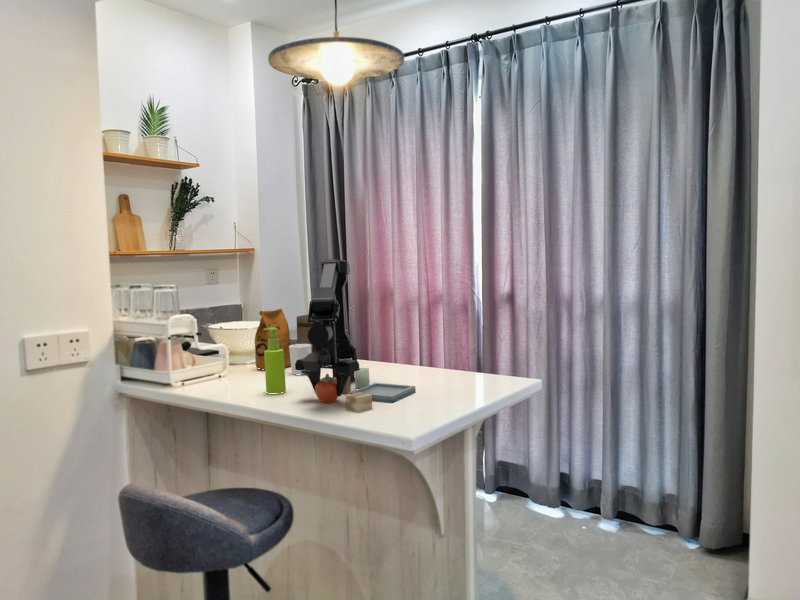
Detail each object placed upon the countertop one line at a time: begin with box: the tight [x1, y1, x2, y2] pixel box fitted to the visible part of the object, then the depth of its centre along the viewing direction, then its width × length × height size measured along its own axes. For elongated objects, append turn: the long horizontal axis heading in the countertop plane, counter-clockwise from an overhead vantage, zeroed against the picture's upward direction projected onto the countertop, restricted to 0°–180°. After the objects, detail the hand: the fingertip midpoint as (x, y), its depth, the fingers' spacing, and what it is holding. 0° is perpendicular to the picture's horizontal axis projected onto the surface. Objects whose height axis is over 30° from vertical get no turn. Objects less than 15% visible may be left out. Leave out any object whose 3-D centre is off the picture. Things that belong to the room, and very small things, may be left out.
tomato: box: [314, 373, 339, 404], centre depth 180 cm, size 7×7×8 cm
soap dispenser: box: [263, 327, 287, 393], centre depth 194 cm, size 6×7×20 cm
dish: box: [349, 382, 417, 404], centre depth 185 cm, size 14×14×2 cm
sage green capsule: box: [354, 367, 371, 390], centre depth 196 cm, size 4×4×6 cm
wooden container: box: [296, 313, 314, 353], centre depth 244 cm, size 15×15×22 cm
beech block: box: [344, 392, 373, 413], centre depth 170 cm, size 5×5×4 cm
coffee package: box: [254, 308, 292, 371], centre depth 236 cm, size 10×12×22 cm
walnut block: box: [332, 377, 352, 395], centre depth 191 cm, size 4×4×4 cm
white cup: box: [289, 343, 311, 375], centre depth 223 cm, size 8×8×10 cm
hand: (328, 395), depth 180 cm, fingers closed on tomato, 7 cm apart
